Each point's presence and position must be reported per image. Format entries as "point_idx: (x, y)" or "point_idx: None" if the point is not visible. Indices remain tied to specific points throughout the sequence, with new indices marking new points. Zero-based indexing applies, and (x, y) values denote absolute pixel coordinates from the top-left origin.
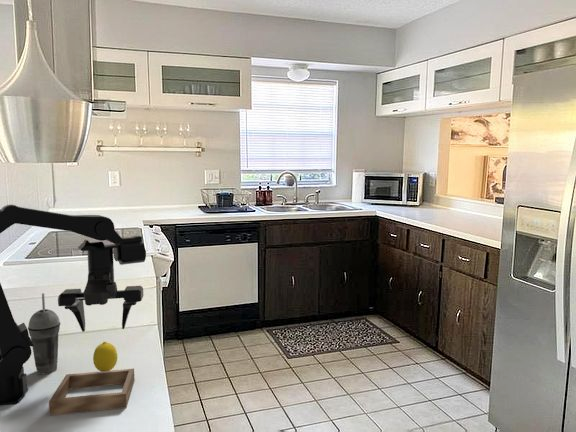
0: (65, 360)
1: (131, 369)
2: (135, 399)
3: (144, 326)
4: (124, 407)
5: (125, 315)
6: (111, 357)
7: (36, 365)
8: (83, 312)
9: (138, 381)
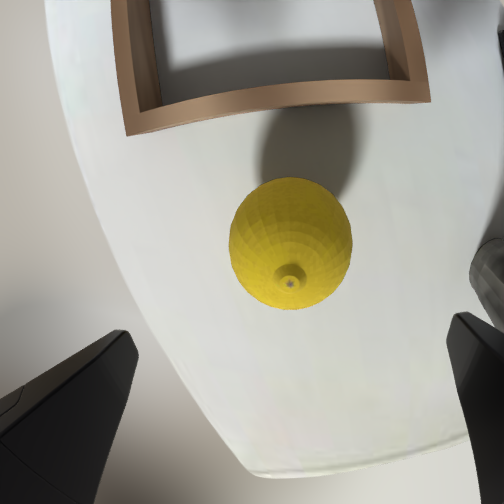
0: None
1: (133, 126)
2: None
3: (266, 469)
4: None
5: (22, 395)
6: (243, 205)
7: None
8: (492, 481)
9: None
